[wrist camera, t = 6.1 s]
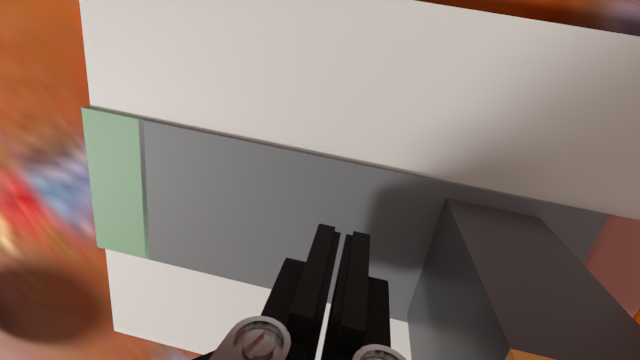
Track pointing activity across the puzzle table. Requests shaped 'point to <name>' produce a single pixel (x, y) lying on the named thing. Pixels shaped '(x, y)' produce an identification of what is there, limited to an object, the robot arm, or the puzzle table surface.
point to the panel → (342, 146)
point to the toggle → (511, 295)
